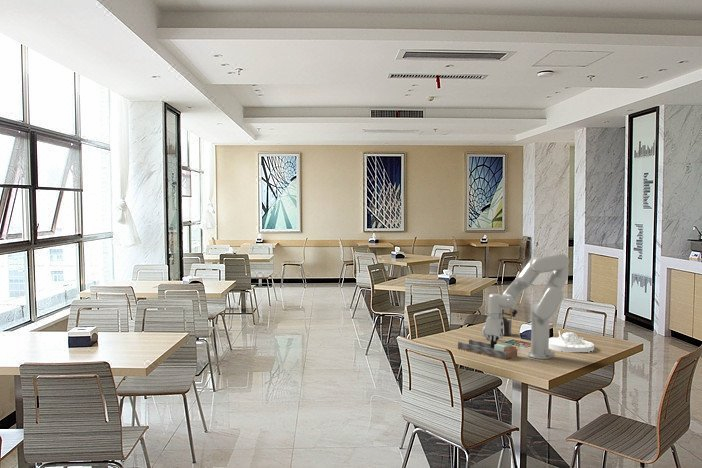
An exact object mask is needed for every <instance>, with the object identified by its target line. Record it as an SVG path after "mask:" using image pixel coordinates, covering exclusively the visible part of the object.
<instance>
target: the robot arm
mask: <svg viewBox="0 0 702 468" xmlns="http://www.w3.org/2000/svg"><path fill="white" fill-rule="evenodd" d="M569 264H570V259H569V257H568V256H567V255H566V254H565V253H561V252H558V251H557V252H553V253H552V254H551V255H549V256H548V255H547V256H542V257H541V256H533V257H532V258H530V260H529V261H528V262H527V263H526V265H525V266H524V267H523V269H522V271H520V272H519V274H518V275H517V276H516V278H515V279H514V280H513V281H512V282H511V283H510V284H509V285H508V287H507V288H506V289H505V291H504V292H503V293H502V294H500V293H490V294H489V295H488V301H487V306H488V307H487V317H486V319H485V324H484V326H485V333H486V334H485V335H486V336H487V337H489V339H490V340H489V341H490V344H491V348H494V345H496V344H498V341H499V340H502V339H503V338H504V337H503V335H504V323H503V319H502V317H504V315H502V310H503V308H504V309H513V308H515V307H516V306H517V304H518V303H517V302H518V301H517V298H518V296H520V294H521V293H522V292H523V291H524V290H526V289H528V288H529V287H530V286H532V285H533V283H534V282H535V281H536V279H537V278H538V277H539V275H540V273H541V274H542V273H548V272H551V274H550V276H549V279H548V280H547V281H546V283H545V285H544V287H543V288H542V290H541V295H542V298H541V299H538V300H535V301H534V302H533V303H532V304H531V308H530V316H531V327H530V328H531V331H530V332H531V333H530V352H527V356H528V357H530V358H532V359H538V360H539V359H540V360H549V359H551V358H552V357H555V355H556V354H555V352H554V351H551V349H549V338H550V319H552V317H553V316H554V314H555V313H556V311H557V309H558V307H559V306H560V304H561V302H562V300H563V297H564V292H563V290H562V289H563V288H564V286H565V284H566V282H567V281H568V278H569V273H570V271H569Z"/></svg>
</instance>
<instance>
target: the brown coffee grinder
mask: <svg viewBox="0 0 702 468" xmlns="http://www.w3.org/2000/svg"><path fill="white" fill-rule="evenodd" d="M517 314H518V310H517V309H513V308H512V310H511V314H510V313H507V312H505V310H504V309H502V315H503V317H502V319H503V323H504V335H503V336H504V337H510V336H511V335H512V319H508V318H506V317H505V316H504V315H506V316H511V317H512V318H513V317H514V318H515V317H516V315H517Z"/></svg>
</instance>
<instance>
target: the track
mask: <svg viewBox="0 0 702 468" xmlns="http://www.w3.org/2000/svg"><path fill="white" fill-rule="evenodd" d="M457 349H458V350H460V349H461V351H465V350H466V352H469V351H470V353H473V352H474V354H478V353H479V354H478V355H482V354H483V356H486V355H487V356H488V357H491V358H495V359H500V360H504V361H506V360H510V359H513V358H517V357H518V349H517V346H513V345H512V347H509V348H506V349H504V352H503V351H498V350H494V348H491V343H489V342H485V341H480V340H476V339H468V343H466V342H461V341H458V342H457Z"/></svg>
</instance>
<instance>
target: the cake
mask: <svg viewBox="0 0 702 468" xmlns="http://www.w3.org/2000/svg"><path fill="white" fill-rule="evenodd" d="M549 349H550V350H552V351H557V352H561V351H563V352H564V353H569V352H588V353H591V352H590V351H592V352H594V351H595V343H593V342H591V341H587V340H586V339H585V340H584V337H581V336H580V337H578V335H577V333H575V332H572V331H566V332H564V333H562V334H561V331H560V330H558V337H554V336H552V337H549ZM593 350H594V351H593Z"/></svg>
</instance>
